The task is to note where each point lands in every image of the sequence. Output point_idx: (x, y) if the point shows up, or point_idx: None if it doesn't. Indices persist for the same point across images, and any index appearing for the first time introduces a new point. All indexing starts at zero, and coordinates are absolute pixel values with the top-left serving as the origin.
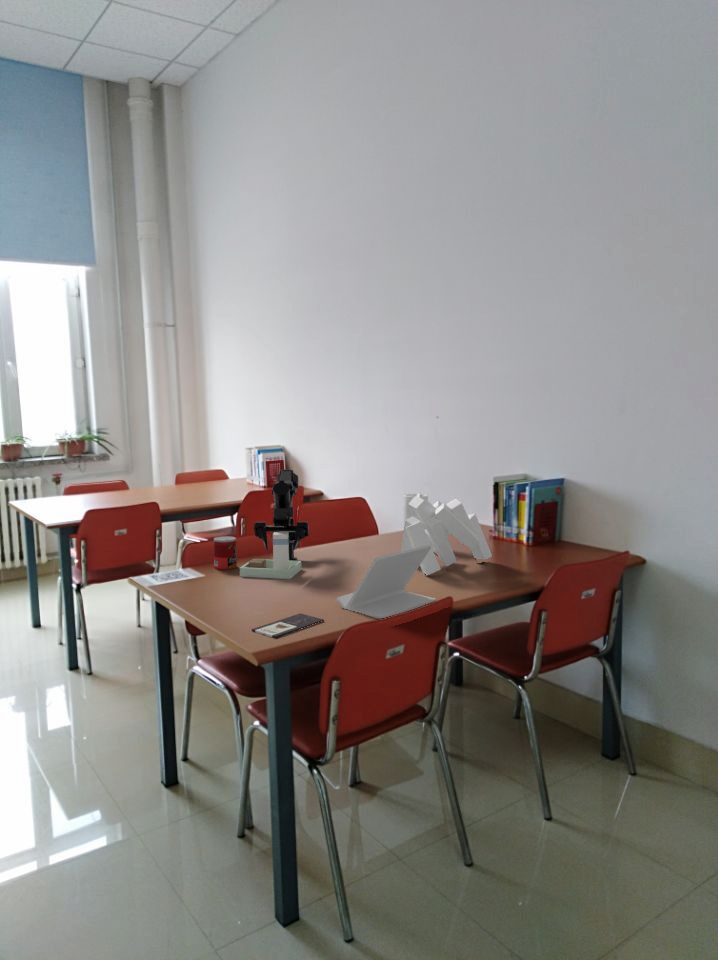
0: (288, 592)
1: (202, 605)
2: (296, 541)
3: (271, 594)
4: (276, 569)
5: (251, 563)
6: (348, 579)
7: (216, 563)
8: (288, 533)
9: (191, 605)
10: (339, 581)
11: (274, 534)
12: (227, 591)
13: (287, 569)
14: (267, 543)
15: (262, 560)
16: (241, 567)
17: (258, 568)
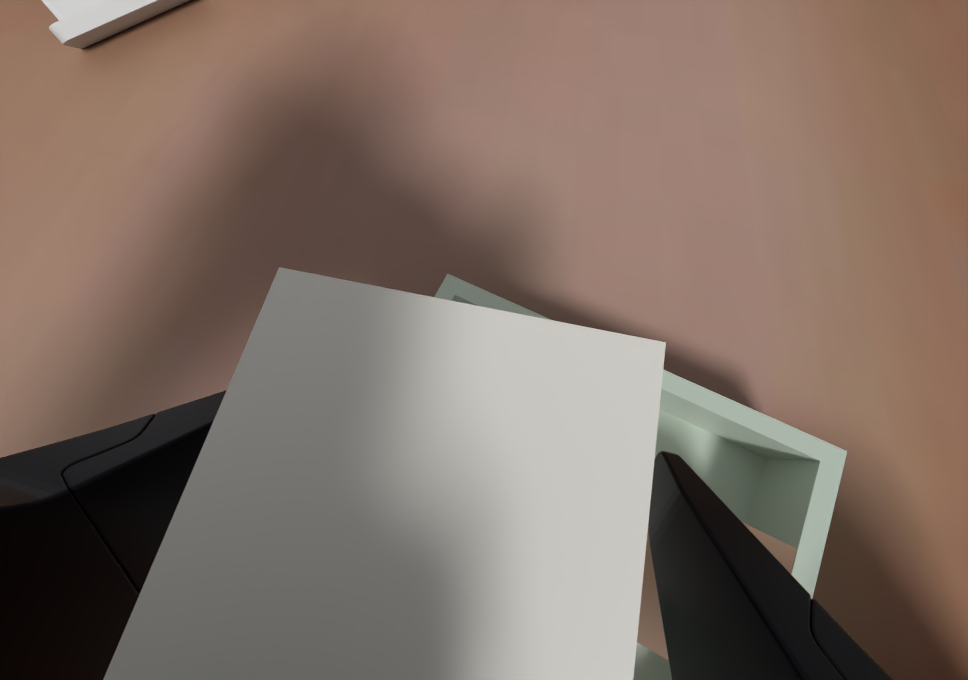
0: (506, 106)
1: (892, 5)
2: (201, 398)
3: (587, 92)
4: (538, 315)
5: (756, 531)
6: (155, 254)
7: None
8: (170, 589)
9: (945, 11)
10: (215, 228)
11: (621, 350)
12: (815, 170)
13: (460, 297)
14: (684, 590)
15: (650, 587)
16: (832, 454)
17: (677, 379)
